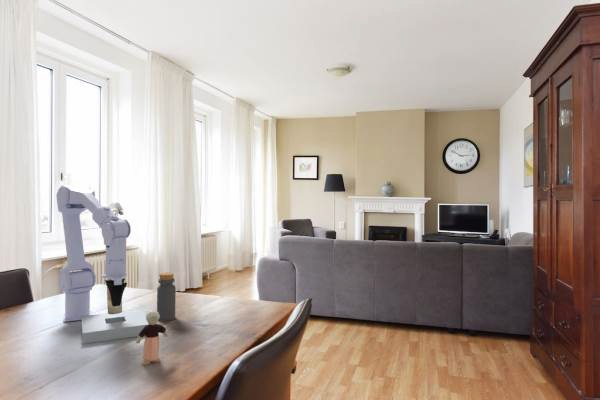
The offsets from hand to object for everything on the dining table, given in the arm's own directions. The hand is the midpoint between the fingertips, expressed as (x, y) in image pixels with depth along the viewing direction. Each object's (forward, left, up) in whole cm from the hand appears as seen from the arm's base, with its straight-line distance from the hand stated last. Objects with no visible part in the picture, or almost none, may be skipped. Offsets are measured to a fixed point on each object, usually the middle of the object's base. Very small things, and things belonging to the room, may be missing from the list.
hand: (115, 304), depth 124 cm
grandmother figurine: (+30, +6, -8) cm, 32 cm away
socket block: (0, 0, -8) cm, 8 cm away
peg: (0, 0, -2) cm, 3 cm away
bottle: (-5, +16, -8) cm, 19 cm away
